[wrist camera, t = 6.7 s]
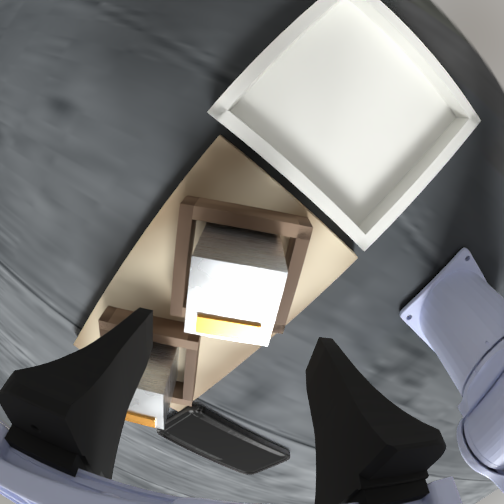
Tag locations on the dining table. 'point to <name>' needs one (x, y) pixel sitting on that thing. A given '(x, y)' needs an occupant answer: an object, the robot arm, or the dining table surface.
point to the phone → (221, 441)
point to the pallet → (183, 245)
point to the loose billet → (235, 284)
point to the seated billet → (155, 387)
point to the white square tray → (350, 113)
